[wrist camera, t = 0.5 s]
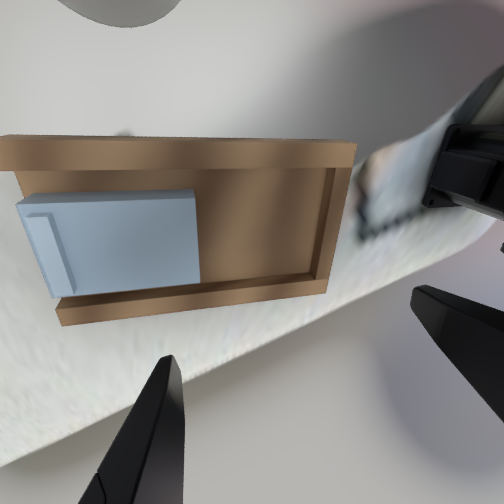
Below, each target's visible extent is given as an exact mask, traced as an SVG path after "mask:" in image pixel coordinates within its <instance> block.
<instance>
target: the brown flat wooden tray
mask: <svg viewBox="0 0 504 504" xmlns="http://www.w3.org/2000/svg"><path fill="white" fill-rule="evenodd" d="M356 148H357V143H353V142H349V141H345V140H325V139H322V140H321V139H263V138H199V137H198V138H197V137H134V136H67V135H6V136H0V171H14V172H15V175H16V177H17V180H18V183H19V185H20V188H21V191H22V193H23V196H24V198H26V197H28V196H29V195H31V194H32V193H57V192H94V191H131V190H169V189H193V190H194V195H195V204H196V221H197V237H198V253H199V269H200V283H193V284H184V285H174V286H164V287H155V288H145V289H136V290H126V291H117V292H107V293H97V294H88V295H78V296H69V297H61V298H62V299H61V300H60V302H59V304H58V306H57V307H56V309H55V310H56V313H57V316H58V318H59V321H60V323H61V326H70V325H78V324H86V323H94V322H102V321H110V320H118V319H126V318H134V317H141V316H149V315H157V314H165V313H173V312H181V311H189V310H197V309H205V308H213V307H221V306H229V305H237V304H244V303H252V302H260V301H268V300H276V299H284V298H292V297H300V296H308V295H316V294H324V293H326V290H327V285H328V280H329V275H330V271H331V266H332V261H333V257H334V252H335V247H336V242H337V238H338V233H339V228H340V224H341V219H342V214H343V209H344V205H345V200H346V195H347V190H348V186H349V181H350V176H351V172H352V167H353V162H354V157H355V153H356Z"/></svg>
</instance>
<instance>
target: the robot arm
mask: <svg viewBox="0 0 504 504" xmlns="http://www.w3.org/2000/svg"><path fill="white" fill-rule="evenodd" d="M455 130H456V132H455ZM429 201H430V202H429ZM423 205H424V206H425V207H428V208H435V207H454V206H465V207H467V208H470V209H473V210H476V211H478V212H481V213H484V214H486V215H489V216H492V217H494V218H497V219H500V220H503V221H504V126H501V125H472V124H453V125H452V126H451V127H450V128H449V129H448V132H447V134H446V137H445V140H444V143H443V146H442V149H441V151H440V154H439V157H438V160H437V163H436V166H435V168H434V171H433V174H432V177H431V180H430V183H429V185H428V188H427V191H426V194H425V197H424V200H423ZM500 250H501V251H502V252H503V253H504V243H503V244H502V247H501V249H500ZM410 306H411V309H412V311H413V312H414V313H415V315H416V316H417V318H418V319H419V320H420V322H421V323H422V325H423V326H424V328H425V329H426V330H427V332H428V333H429V335H430V336H431V337H432V339H433V340H434V342H435V343H436V344H437V345H438V347H439V348H440V349H441V350H442V352H443V353H444V354H445V355H446V356H447V357H448V359H450V361H451V362H452V363H453V364H454V366H455V367H456V368H457V369H458V370H459V371H460V373H461V374H462V375H463V376H464V377H465V378H466V380H467V381H468V382H469V383H470V384H471V385H472V386H473V388H474V389H475V390H476V391H477V392H478V394H479V395H480V396H481V397H482V398H483V399H484V400H485V402H486V403H487V404H488V405H489V406H490V407H491V409H492V410H493V411H494V412H495V413H496V414H497V416H498V417H499V418H500V419H501V420H502V421H503V423H504V312H503V311H500V310H497V309H495V308H492V307H489V306H486V305H483V304H480V303H477V302H474V301H471V300H469V299H466V298H463V297H460V296H457V295H454V294H451V293H448V292H446V291H442V290H440V289H437V288H434V287H431V286H428V285H421V286H417V287H415V288H414V289H413V291H412V296H411V302H410ZM184 443H185V415H184V402H183V390H182V377H181V371H180V368H179V366H178V364H177V362H176V360H175V358H174V356H173V355H168V356H165V357H162V358H160V359H159V361H158V363H157V364H156V366H155V368H154V370H153V372H152V373H151V375H150V377H149V379H148V380H147V382H146V384H145V386H144V388H143V389H142V391H141V393H140V395H139V396H138V398H137V400H136V402H135V404H134V405H133V407H132V409H131V411H130V412H129V415H128V416H127V418H126V420H125V421H124V423H123V425H122V427H121V428H120V430H119V432H118V434H117V436H116V437H115V439H114V441H113V443H112V445H111V446H110V448H109V450H108V452H107V453H106V455H105V457H104V459H103V460H102V462H101V464H100V466H99V468H98V469H97V472H98V473H95V475H94V476H93V478H92V480H91V482H90V483H89V485H88V487H87V489H86V491H85V492H84V494H83V496H82V497H81V499H80V501H79V502H78V504H183V479H184V478H183V476H184Z"/></svg>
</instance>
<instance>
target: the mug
mask: <svg viewBox="0 0 504 504" xmlns="http://www.w3.org/2000/svg"><path fill="white" fill-rule="evenodd" d="M58 1H60V2H61V3H63V4H64V5H65V6H67V7H68V8H70V9H72V10H73V11H75V12H77V13H78V14H80V15H82V16H84V17H86V18H88V19H90V20H93V21H95V22H98V23H101V24H105V25H109V26H115V27H138V26H144V25H147V24H150V23H152V22H155V21H157V20H158V19H160V18H162V17H164V16H165V15H166V14H167V13H169V12H170V11H171V10H172V9H173V8H174V7H175V6H176V5H177V4H178V3H179V1H180V0H58Z"/></svg>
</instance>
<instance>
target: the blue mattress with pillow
mask: <svg viewBox="0 0 504 504" xmlns="http://www.w3.org/2000/svg"><path fill="white" fill-rule="evenodd" d="M15 205H16V208H17V211H18V213H19V216H20V218H21V221H22V223H23V226H24V228H25V231H26V233H27V236H28V238H29V241H30V244H31V246H32V249H33V251H34V254H35V256H36V259H37V261H38V264H39V266H40V269H41V271H42V274H43V277H44V279H45V282H46V284H47V287H48V289H49V292H50V294H51V297H52V298H59V297H69V296H78V295H88V294H97V293H107V292H117V291H126V290H136V289H145V288H155V287H164V286H174V285H184V284H193V283H200V269H199V253H198V237H197V221H196V204H195V195H194V190H193V189H169V190H131V191H94V192H57V193H32V194H31V195H29V196H28V197H26V198H24V199H23V200H21V201H20V202H18V203H17V204H15Z"/></svg>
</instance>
